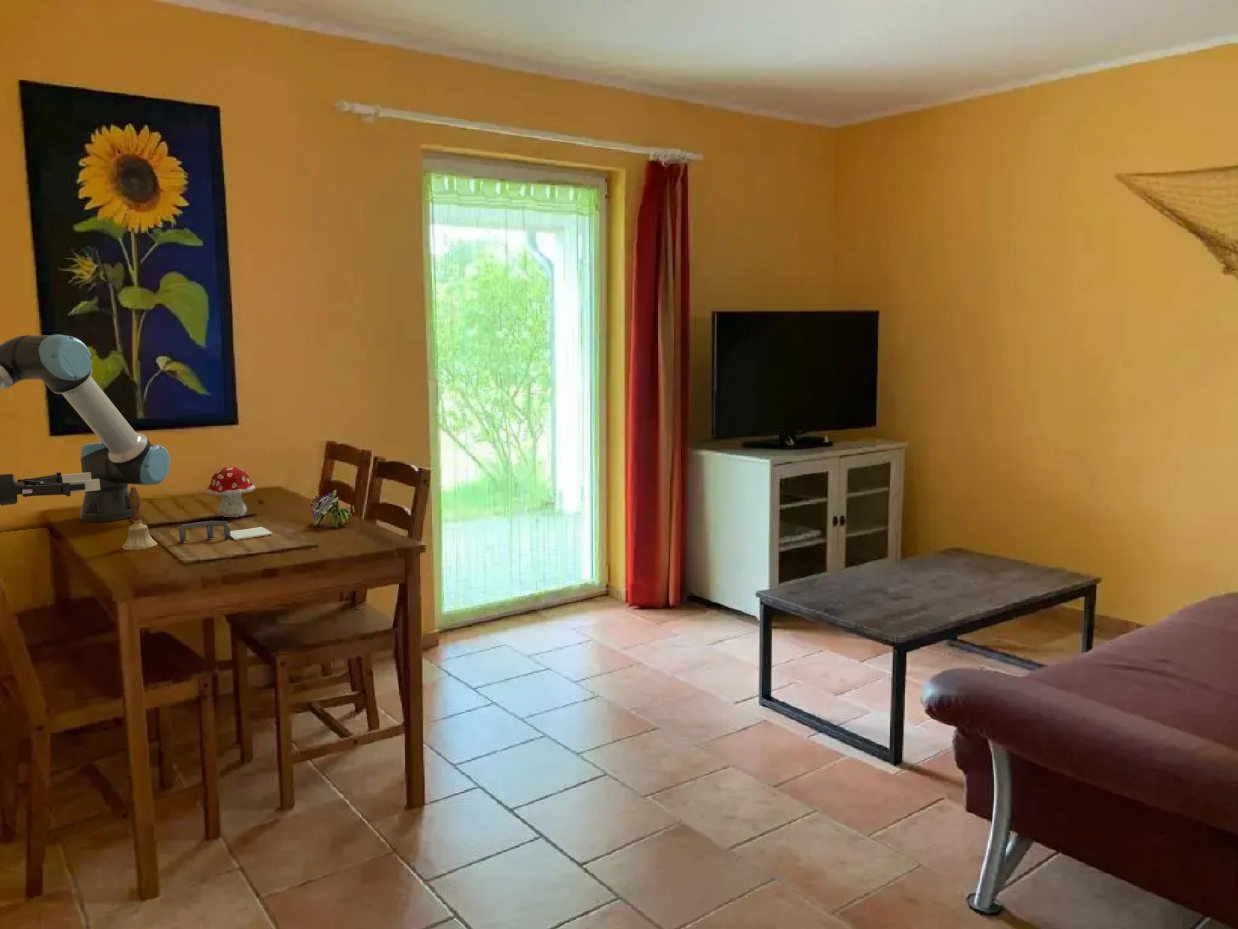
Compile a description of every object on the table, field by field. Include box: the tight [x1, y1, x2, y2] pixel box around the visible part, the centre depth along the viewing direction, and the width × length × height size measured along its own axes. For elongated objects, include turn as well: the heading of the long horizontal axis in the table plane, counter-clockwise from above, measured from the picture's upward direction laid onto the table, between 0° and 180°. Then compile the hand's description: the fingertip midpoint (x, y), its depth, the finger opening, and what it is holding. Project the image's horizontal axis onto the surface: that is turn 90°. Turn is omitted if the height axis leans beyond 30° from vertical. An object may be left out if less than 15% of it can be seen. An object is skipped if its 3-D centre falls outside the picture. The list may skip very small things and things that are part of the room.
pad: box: [230, 526, 274, 541], centre depth 264 cm, size 10×10×1 cm
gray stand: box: [178, 520, 232, 543], centre depth 258 cm, size 5×12×5 cm, turn 126°
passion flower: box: [309, 489, 355, 529], centre depth 276 cm, size 11×11×12 cm
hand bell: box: [121, 486, 158, 551], centre depth 252 cm, size 8×8×16 cm
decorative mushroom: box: [206, 466, 256, 519], centre depth 288 cm, size 14×14×15 cm
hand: (95, 480), depth 245 cm, fingers open, 13 cm apart
